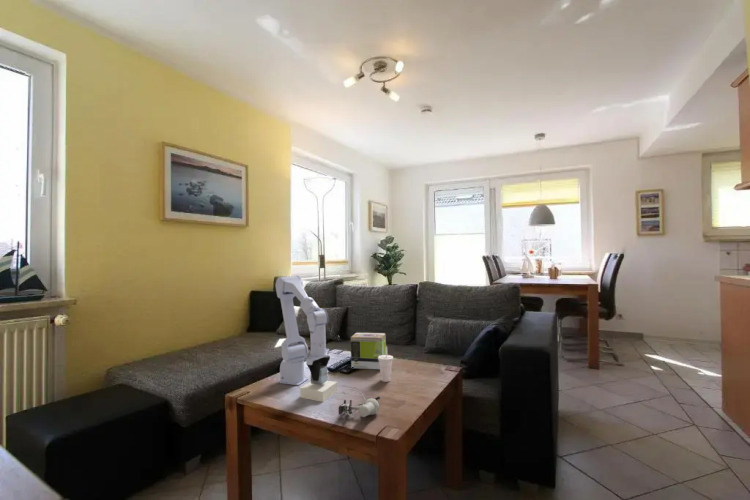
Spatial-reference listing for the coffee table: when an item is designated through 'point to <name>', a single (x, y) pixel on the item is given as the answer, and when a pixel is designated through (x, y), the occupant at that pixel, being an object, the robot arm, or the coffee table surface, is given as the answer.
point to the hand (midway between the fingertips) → (318, 378)
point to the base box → (318, 391)
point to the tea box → (367, 350)
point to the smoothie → (385, 366)
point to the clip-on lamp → (361, 407)
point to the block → (321, 376)
